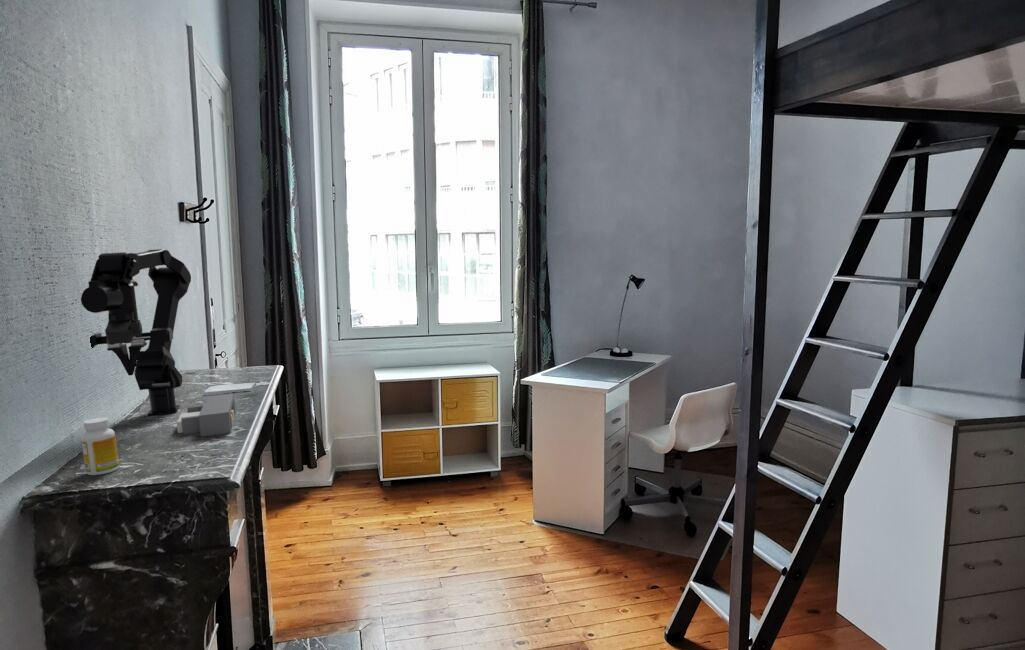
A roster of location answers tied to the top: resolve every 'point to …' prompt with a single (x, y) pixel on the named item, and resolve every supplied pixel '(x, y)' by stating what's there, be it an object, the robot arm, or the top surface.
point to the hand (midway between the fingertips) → (130, 375)
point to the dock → (211, 416)
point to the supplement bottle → (99, 447)
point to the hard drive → (229, 388)
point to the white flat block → (179, 423)
